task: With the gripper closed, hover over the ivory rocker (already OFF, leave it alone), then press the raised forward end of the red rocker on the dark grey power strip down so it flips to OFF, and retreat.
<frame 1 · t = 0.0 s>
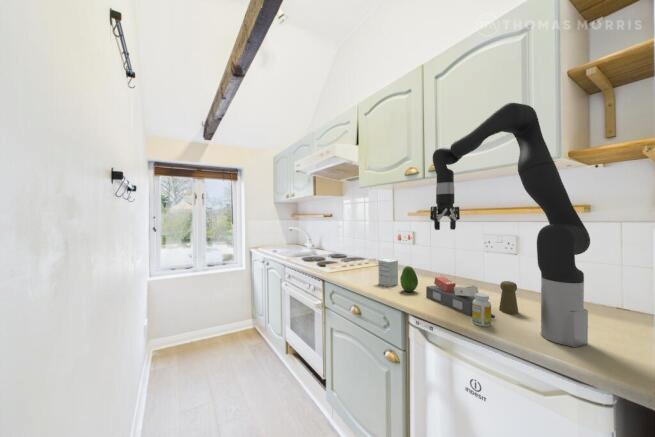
hand: (445, 229, 119), 29 cm above the counter, fingers open, 8 cm apart
cork: (508, 311, 99), on the counter
rocker A: (466, 290, 101), point 7 cm above the counter, hinge at 12.0°
avocado: (409, 292, 125), on the counter
rocker B: (444, 283, 111), point 7 cm above the counter, hinge at -12.0°
supplement bottle: (481, 324, 88), on the counter
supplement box: (388, 284, 138), on the counter
power strip: (453, 304, 107), on the counter
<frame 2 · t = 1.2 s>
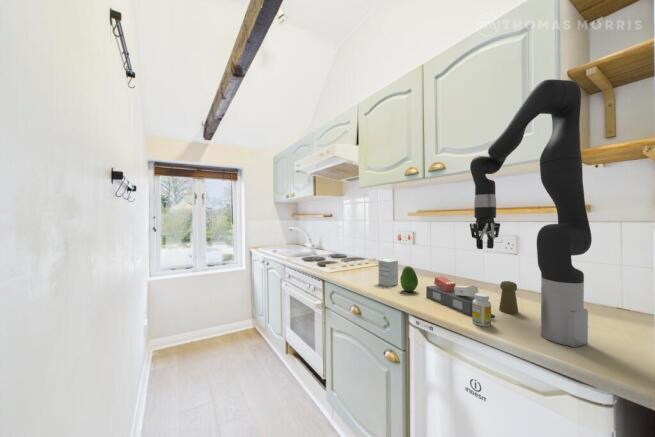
hand: (485, 248, 107), 22 cm above the counter, fingers open, 5 cm apart
nothing on the counter moved.
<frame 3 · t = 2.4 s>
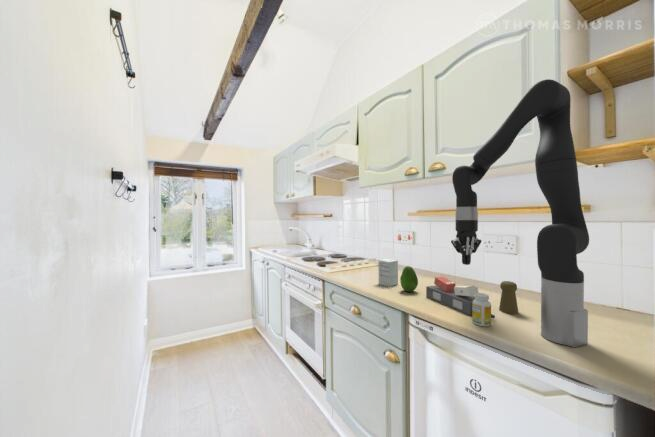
hand: (466, 264, 101), 17 cm above the counter, fingers closed
nothing on the counter moved.
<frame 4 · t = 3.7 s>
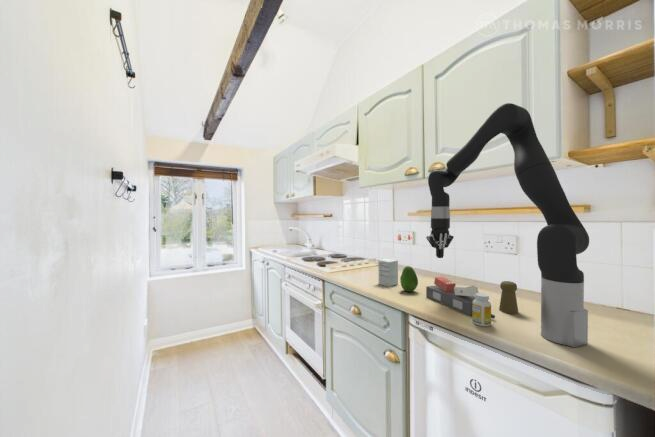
hand: (439, 257, 114), 18 cm above the counter, fingers closed
nothing on the counter moved.
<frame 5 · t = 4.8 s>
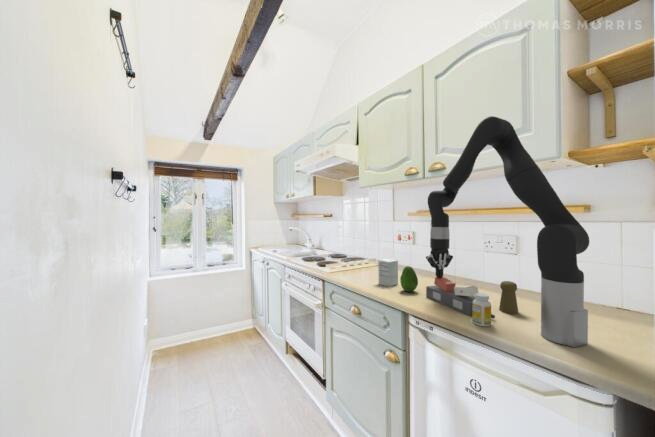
hand: (439, 277, 114), 9 cm above the counter, fingers closed
rocker B: (444, 283, 111), point 7 cm above the counter, hinge at -11.1°, touching gripper
everything else where it was.
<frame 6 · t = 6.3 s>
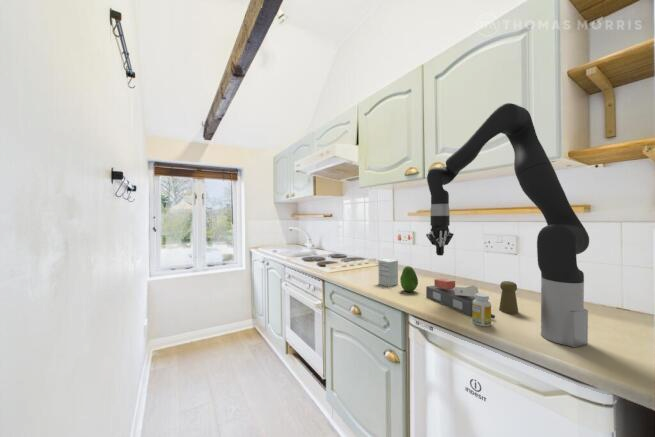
hand: (440, 255, 114), 19 cm above the counter, fingers closed
rocker B: (444, 283, 112), point 7 cm above the counter, hinge at 4.3°
everything else where it was.
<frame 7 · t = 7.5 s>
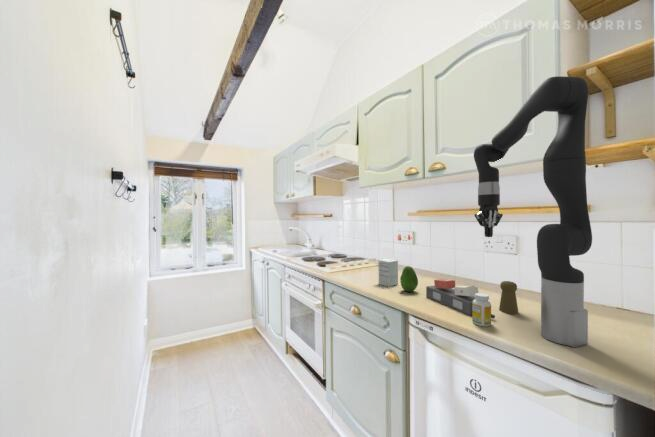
hand: (488, 236, 107), 27 cm above the counter, fingers closed
rocker B: (444, 283, 112), point 7 cm above the counter, hinge at 8.1°
everything else where it was.
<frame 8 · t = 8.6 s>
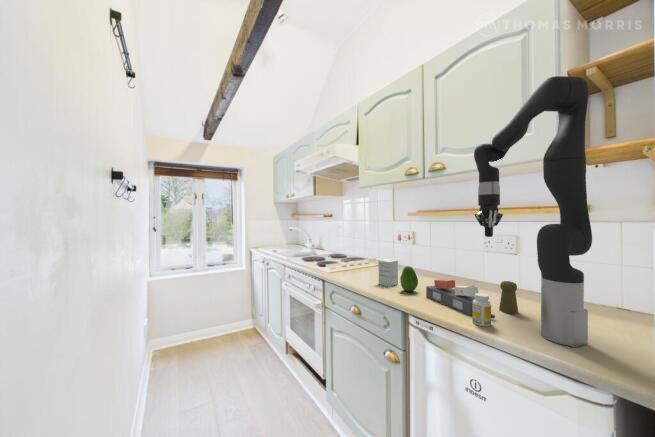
hand: (488, 236, 107), 27 cm above the counter, fingers closed
rocker B: (444, 283, 112), point 7 cm above the counter, hinge at 9.5°
everything else where it was.
at the end: rocker B at +10° (first picture: -12°); rocker A at +12° (first picture: +12°) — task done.
